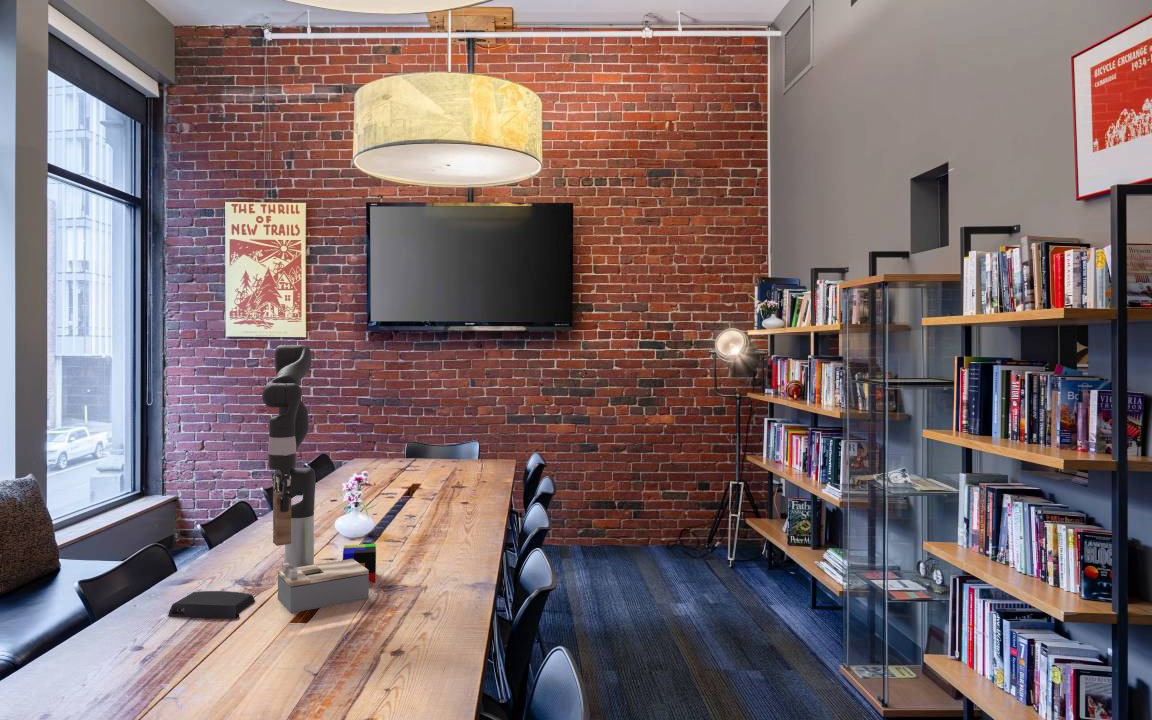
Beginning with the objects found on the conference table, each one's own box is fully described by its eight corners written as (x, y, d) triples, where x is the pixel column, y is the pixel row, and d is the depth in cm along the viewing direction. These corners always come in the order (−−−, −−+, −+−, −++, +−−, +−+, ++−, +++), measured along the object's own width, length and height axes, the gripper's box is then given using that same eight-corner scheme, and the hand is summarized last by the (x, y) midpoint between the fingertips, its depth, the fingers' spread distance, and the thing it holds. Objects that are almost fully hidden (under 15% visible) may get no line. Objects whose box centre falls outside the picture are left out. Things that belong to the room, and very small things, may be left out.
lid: (277, 573, 217) (277, 562, 217) (352, 561, 230) (352, 550, 230) (290, 586, 205) (290, 574, 205) (368, 573, 218) (368, 561, 218)
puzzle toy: (342, 585, 233) (342, 553, 233) (343, 576, 243) (343, 545, 242) (375, 583, 236) (376, 551, 235) (375, 573, 245) (375, 543, 245)
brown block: (273, 542, 218) (273, 491, 218) (287, 540, 221) (287, 490, 220) (276, 545, 215) (276, 494, 214) (291, 543, 217) (291, 492, 217)
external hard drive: (193, 602, 217) (193, 588, 217) (257, 605, 216) (257, 591, 216) (165, 619, 204) (165, 604, 204) (234, 621, 203) (234, 606, 203)
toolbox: (277, 602, 217) (277, 574, 217) (352, 588, 230) (352, 562, 230) (290, 616, 206) (290, 587, 205) (368, 601, 218) (368, 574, 218)
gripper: (262, 449, 220) (262, 507, 221) (275, 456, 209) (275, 517, 210) (288, 447, 225) (288, 504, 225) (302, 454, 213) (302, 513, 214)
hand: (282, 510), depth 217 cm, fingers closed on brown block, 4 cm apart
